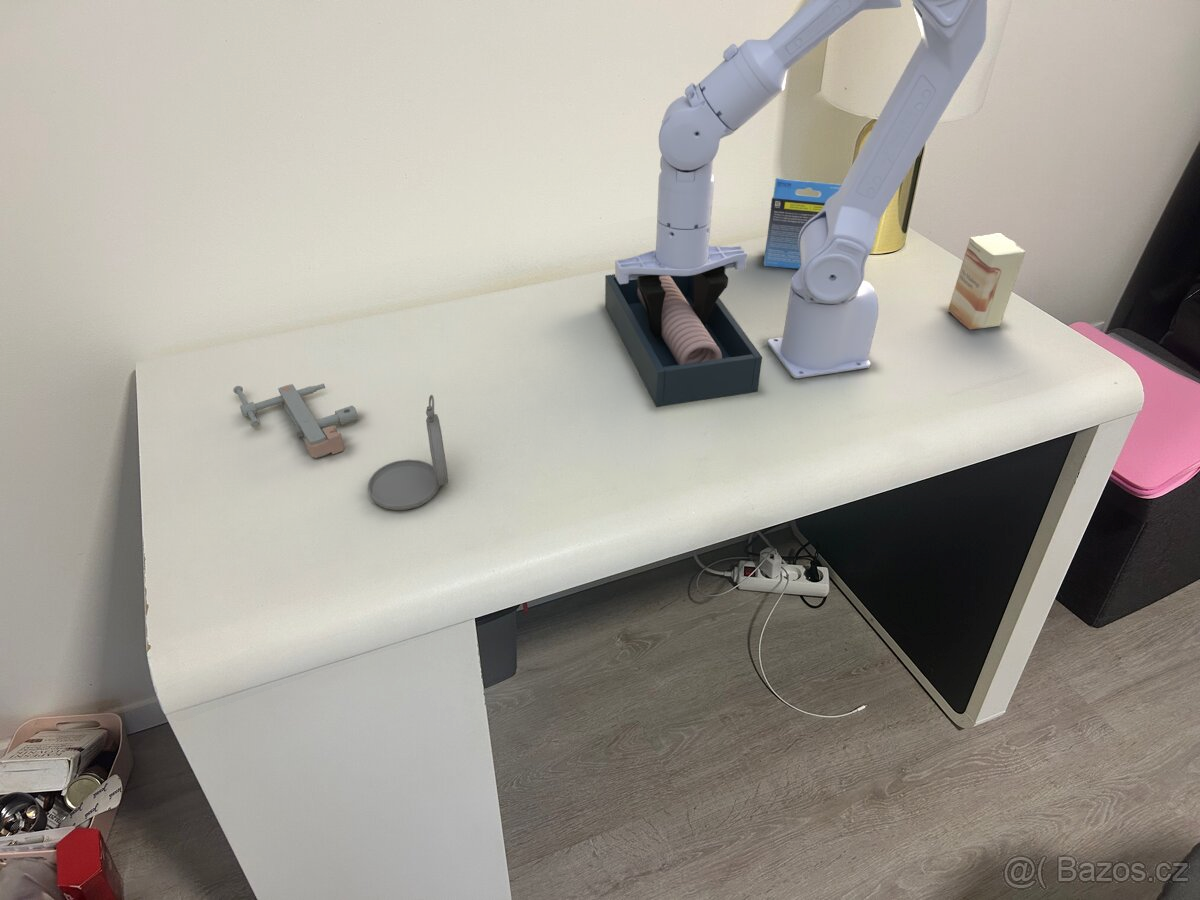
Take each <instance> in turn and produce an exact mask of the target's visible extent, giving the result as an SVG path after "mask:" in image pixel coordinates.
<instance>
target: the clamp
mask: <svg viewBox="0 0 1200 900" xmlns="http://www.w3.org/2000/svg"><path fill="white" fill-rule="evenodd" d="M324 389H326V385H325V383H321V384H317V385H313V386H311V385H310V386H307V387H303V388H301V389H297V388H296V387H295V385H294V384H293V383H292V384H291V383H290V384H287V385H284V386H283V385H282V386H281V387H278V388H277V390H278V393H279V394H280V395H278V396H275V397H271V398H268V399H265V400H262V401H259V402H254V401H251V402H248V400H247V398H246V396H245V395H244V392H243V391H244V388H243V386H241V385H236V386H234V387H233V389H232V391H233V392H234V394H236V395H237V396H238V398H239V400H240V402H241V404H240V406H239V409H240V412H241V414H242V416H243V417H244V418H248V417H249V419H250V426H251V427H252V428H258V427H260V426H261V420H260V419H258V418H257V417H256V415H257V414H258V412H259V411H262V410H265V409H267V408H270V407H274V406H277V405H280V404H282V406H283V408H284V409H285V411H286V413H287V415H288V416H289V418H290V420H291V421H292V423H293V425H294V427H293V430H294V433H295V435H296V437H297V438H300V437H301V438H302V440H303V442H304V443H305V446H306V450H307V452H308V453H309V456H310V457H311V458H314V459H319V458H322V457H325V456H327V455H329V454H331V455H336V454H338V453H339V454H340V453H341V452H343V451H344V450H345V445H344V442H343V439H342V434H341V432H338V430H337V424H340V426H343V425H346V424H349V423H352V422H355V421H357V420H359V415H358V412H357V408H356V407H355V406H354V405H349V406H346V407H343V408H340V409H337V410H335V411H334V414H331V415H328V416H325V417H322V418H319V419H315V417H314V416H313V414H312V413H311V411H310V409H309V407H308V406H307V405H306V403H305V402H304V401H305V400H303V398H302V397H305V396H308V395H311V394H314V393H315V392H317V391H320V390H324Z"/></svg>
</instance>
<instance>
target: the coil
mask: <svg viewBox="0 0 1200 900" xmlns="http://www.w3.org/2000/svg"><path fill="white" fill-rule="evenodd" d="M659 279H660V281H662V283H661V286H662V287H663V289H664V290H665V292H666V294H665V298H664V302H663V308H662V329H661V336H662V338H663V340H664V341H665V343H666V345H667V347H668V348H669V350H670V351H671V353H672V355H673V356H674V358H675V360H676V361H677V363H678V365H681V364H688V363H695V362H702V361H709V360H716V359H722V353H721V351H720V349H719V347H718V346H717V344H716V343H715V342H714V340H713V338H712V337H711V336H710V334H709V333H708V331H707V330H706V328H705V327H704V325H703V324H702V323H701V321H700V319H699V318H698V316H697V315H696V314H695V312H694V311H693V309H692V307H691V306H690V305H689V303H688V302H687V300H686V299H685V297H684V296H683V294H682V293H681V291H680V290H679V288H678V287H677V286H676V284H675V282H674V281H673V279H672V278H671V277H670V276H660V277H659ZM637 294H638V297H639V299H640V301H641V303H642V304H643V306H644V308H645V309H646V306H645V303H644V300H643V297H642V295H641V292H640V290H639V288H638V290H637ZM646 311H647V310H646Z"/></svg>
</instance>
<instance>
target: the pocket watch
mask: <svg viewBox="0 0 1200 900" xmlns="http://www.w3.org/2000/svg"><path fill="white" fill-rule="evenodd" d="M425 414H426V416H427V417H426V418H425V422H426V430H427V437H428V444H429V450H430V457H431V463H432V465H431V464H430V463H429V462H426V461H423V460H419V459H403V460H396V461H392V462H390V463H387V464H385V465H383V466H382V467H380V468H378V469H377V470H376V471H374V472H373V474H372V475H371V476H370V478H369V480H368V482H367V493H368V495H369V498H370V500H372V502H373V503H375V504H376V505H377V506H379V507H381V508H384V509H386V510H393V511H405V510H410V509H415V508H417V507H420V506H422V505H424V504H426V503H427V502H429V501H431V500H432V498H434V496H435V495H436V494H437V493H438V491H439V489H440V486H444V485H447V484H448V481H449V475H448V467H447V466H448V465H447V460H446V454H445V453H446V452H445V447H444V440H443V434H442V428H441V427H442V426H441V423H440V419H439V415H438V414H437V413H435V397H434V395H433V394H430V395H429V398H428V406H427V407H426V410H425Z"/></svg>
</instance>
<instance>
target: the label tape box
mask: <svg viewBox="0 0 1200 900" xmlns="http://www.w3.org/2000/svg"><path fill="white" fill-rule="evenodd" d="M841 185H842V183H841V184H840V183H830V182H829V183H827V182H826V183H825V182H819V181H807V180H798V179H797V180H796V179H787V178H780V177H775V180H774V188H773V195H772V198H771V203H770V214H769V221H768V228H767V234H766V241H765V249H764V258H763V266H765V267H772V268H783V269H796V270H799V269H800V267H801V256H800V251H799V247H798V237H799V234H800V231H801V229H802V227H803V226H804V225H805V224H806V223H807V222H808V221H809V220H810V219H811V218H813V217H814V216H816V215H817V214H818V213H819V212H820V211H821V210H822V208H823V206H824V205H825V203H826V201H827V199H828V198H830V197H831V196H832V195H834V194H835V193H836V192H838V191H839V189H840V187H841ZM807 189H809V190H810V191H811V192H816V193H818V195H817V196H816V195H805V194H798V193H797V191H806V190H807Z"/></svg>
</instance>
